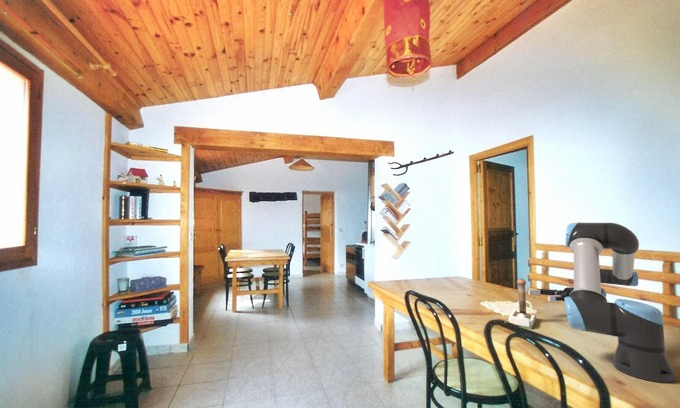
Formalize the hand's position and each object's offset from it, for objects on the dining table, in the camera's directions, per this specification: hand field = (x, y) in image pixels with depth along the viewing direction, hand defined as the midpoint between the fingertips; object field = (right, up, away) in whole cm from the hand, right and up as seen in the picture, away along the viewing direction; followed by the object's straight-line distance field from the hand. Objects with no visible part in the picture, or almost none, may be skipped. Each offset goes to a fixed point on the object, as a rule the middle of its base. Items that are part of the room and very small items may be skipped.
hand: (538, 295), depth 158 cm
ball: (-11, -10, -4) cm, 16 cm away
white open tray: (-9, -13, -2) cm, 16 cm away
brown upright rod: (-9, -12, -1) cm, 15 cm away
